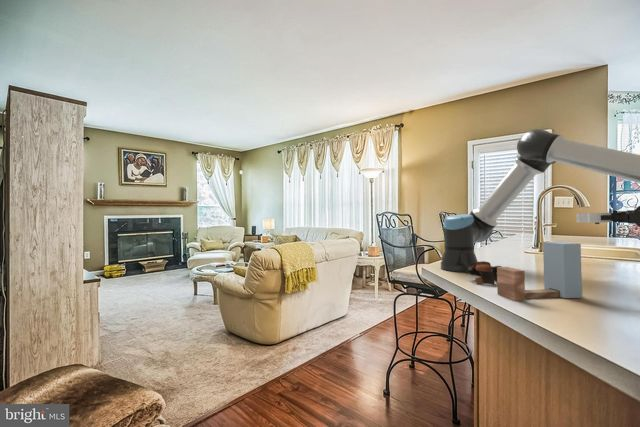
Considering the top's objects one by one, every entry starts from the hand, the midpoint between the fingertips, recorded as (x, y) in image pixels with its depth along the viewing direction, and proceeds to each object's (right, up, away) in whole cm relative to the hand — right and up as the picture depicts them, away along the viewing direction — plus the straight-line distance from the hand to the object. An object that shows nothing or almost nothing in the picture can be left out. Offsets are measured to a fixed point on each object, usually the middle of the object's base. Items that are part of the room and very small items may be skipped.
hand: (583, 217), depth 87 cm
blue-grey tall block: (-7, -22, -1) cm, 23 cm away
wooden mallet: (-13, -22, -1) cm, 26 cm away
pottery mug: (-18, -23, +18) cm, 34 cm away
